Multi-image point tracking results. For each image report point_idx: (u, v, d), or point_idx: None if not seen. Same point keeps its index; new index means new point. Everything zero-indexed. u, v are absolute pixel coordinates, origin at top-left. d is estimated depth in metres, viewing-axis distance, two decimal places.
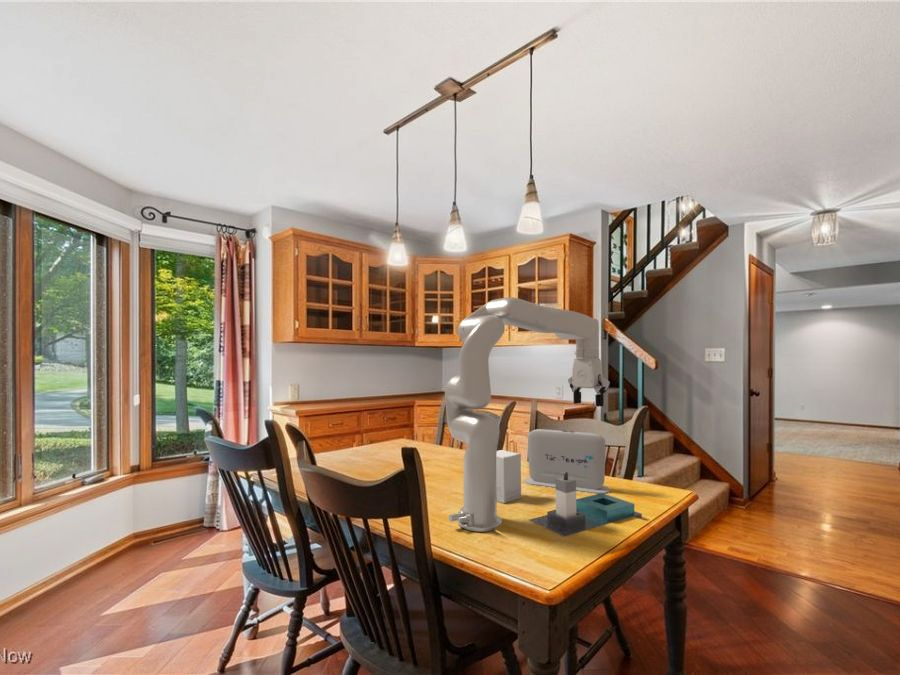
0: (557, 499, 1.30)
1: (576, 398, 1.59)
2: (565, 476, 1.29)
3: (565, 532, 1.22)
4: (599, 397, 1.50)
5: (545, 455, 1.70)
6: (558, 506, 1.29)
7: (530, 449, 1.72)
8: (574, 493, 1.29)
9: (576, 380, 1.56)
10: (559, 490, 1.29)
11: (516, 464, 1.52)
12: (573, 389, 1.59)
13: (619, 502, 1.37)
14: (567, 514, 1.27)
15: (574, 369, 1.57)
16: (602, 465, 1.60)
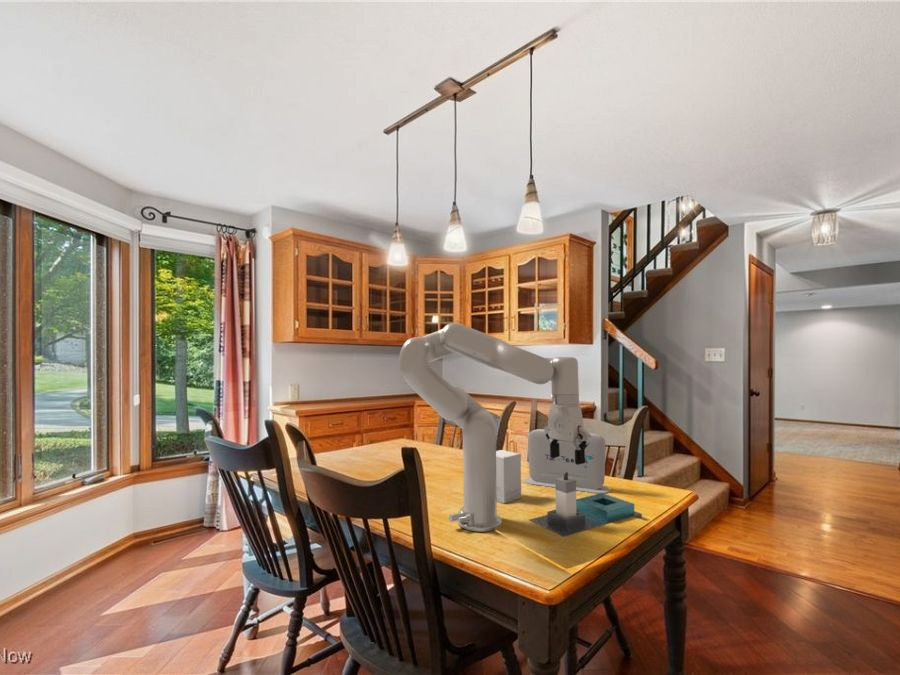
0: (557, 499, 1.30)
1: (553, 451, 1.33)
2: (565, 476, 1.29)
3: (565, 532, 1.22)
4: (579, 453, 1.25)
5: (545, 455, 1.70)
6: (558, 506, 1.29)
7: (530, 449, 1.72)
8: (574, 493, 1.29)
9: (552, 431, 1.31)
10: (559, 490, 1.29)
11: (516, 464, 1.52)
12: (550, 440, 1.34)
13: (619, 502, 1.37)
14: (567, 514, 1.27)
15: (550, 417, 1.32)
16: (602, 465, 1.60)
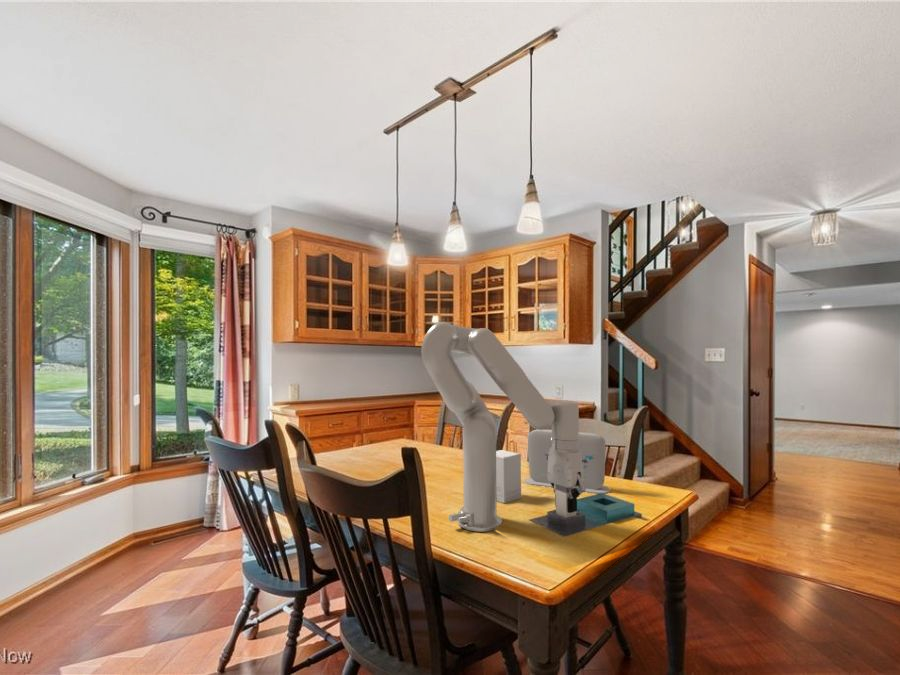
0: (557, 499, 1.30)
1: None
2: None
3: (565, 532, 1.22)
4: (571, 502, 1.27)
5: (545, 455, 1.70)
6: (558, 506, 1.29)
7: (530, 449, 1.72)
8: None
9: (552, 475, 1.31)
10: (559, 490, 1.29)
11: (516, 464, 1.52)
12: (555, 490, 1.31)
13: (619, 502, 1.37)
14: (567, 514, 1.27)
15: (550, 461, 1.32)
16: (602, 465, 1.60)
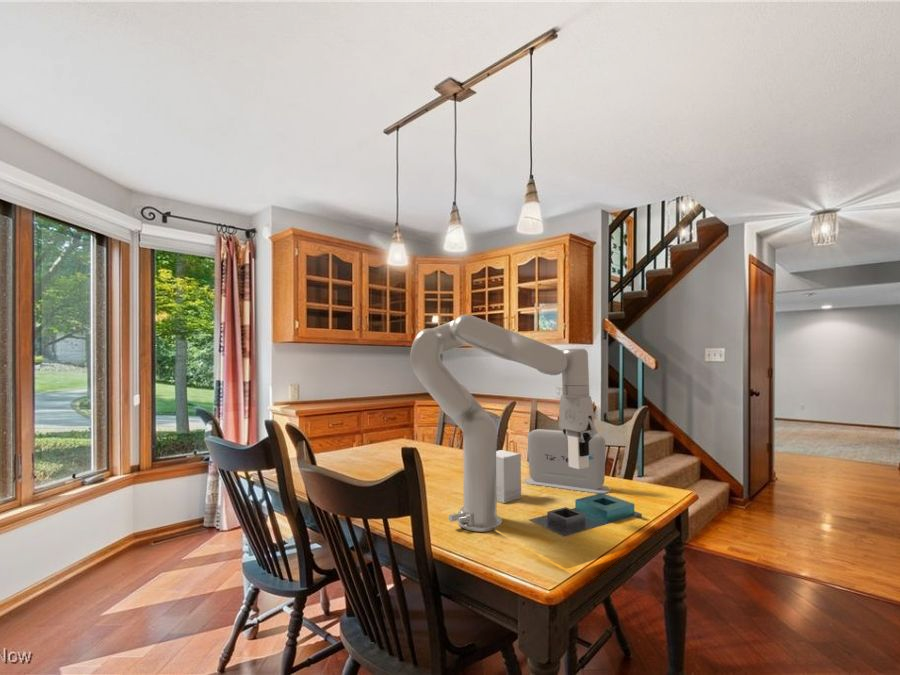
0: (569, 444, 1.32)
1: None
2: None
3: (565, 532, 1.22)
4: (583, 445, 1.29)
5: (545, 455, 1.70)
6: (570, 451, 1.32)
7: (530, 449, 1.72)
8: None
9: (563, 421, 1.33)
10: (571, 435, 1.32)
11: (516, 464, 1.52)
12: (567, 436, 1.34)
13: (619, 502, 1.37)
14: (579, 458, 1.30)
15: (561, 408, 1.34)
16: (602, 465, 1.60)
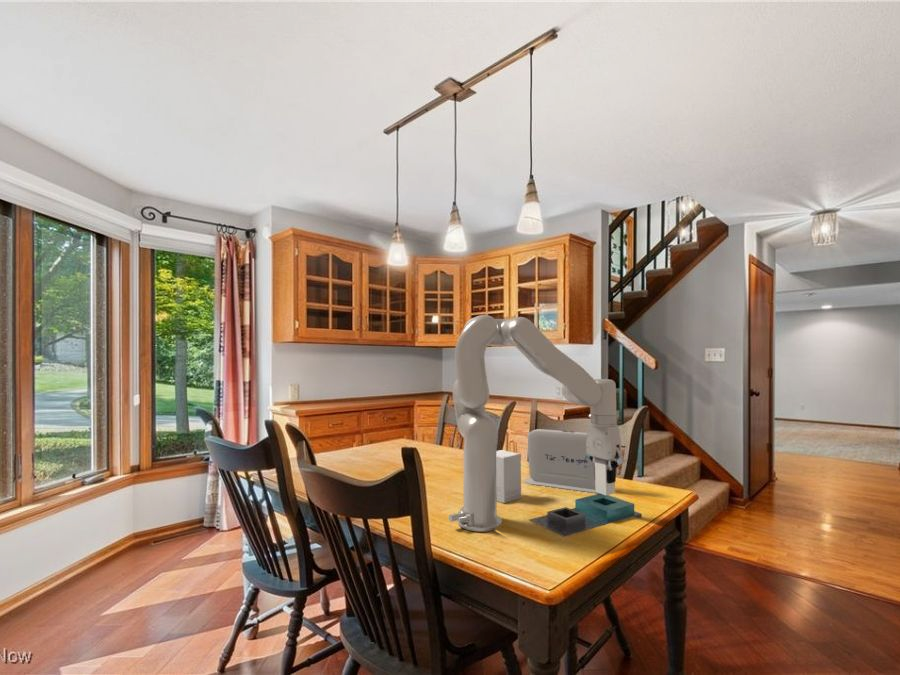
0: (596, 471, 1.38)
1: None
2: None
3: (565, 532, 1.22)
4: (611, 473, 1.35)
5: (545, 455, 1.70)
6: (597, 478, 1.38)
7: (530, 449, 1.72)
8: None
9: (591, 448, 1.39)
10: (598, 462, 1.38)
11: (516, 464, 1.52)
12: (594, 463, 1.40)
13: (619, 502, 1.37)
14: (607, 484, 1.35)
15: (588, 436, 1.40)
16: None
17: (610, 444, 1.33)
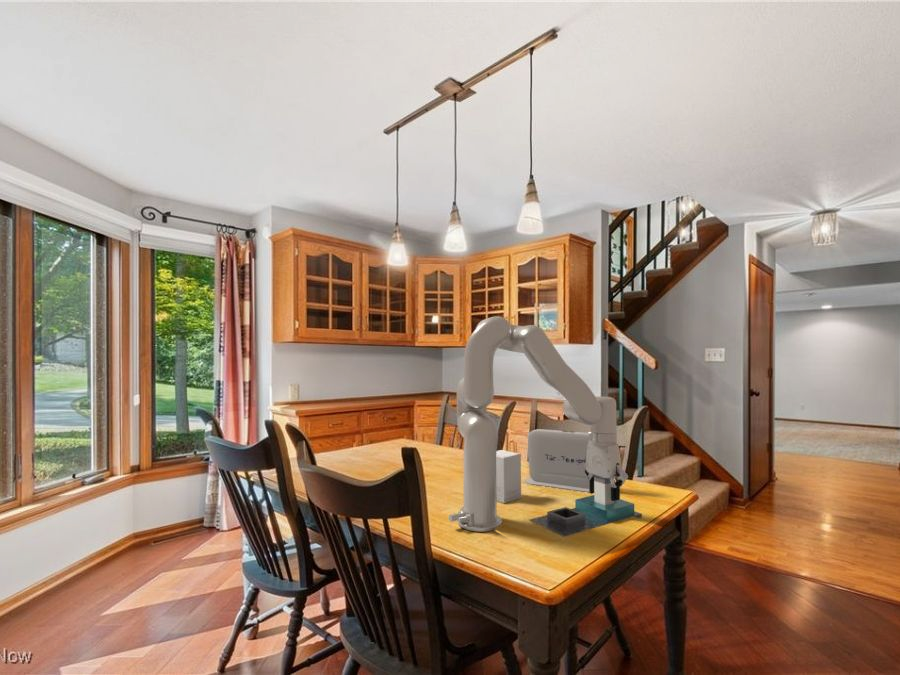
0: (596, 490, 1.38)
1: (592, 487, 1.41)
2: None
3: (565, 532, 1.22)
4: (615, 490, 1.33)
5: (545, 455, 1.70)
6: (596, 497, 1.38)
7: (530, 449, 1.72)
8: None
9: (591, 466, 1.39)
10: (598, 481, 1.37)
11: (516, 464, 1.52)
12: (589, 477, 1.41)
13: (619, 502, 1.37)
14: (606, 504, 1.35)
15: (588, 453, 1.40)
16: None
17: (610, 463, 1.33)
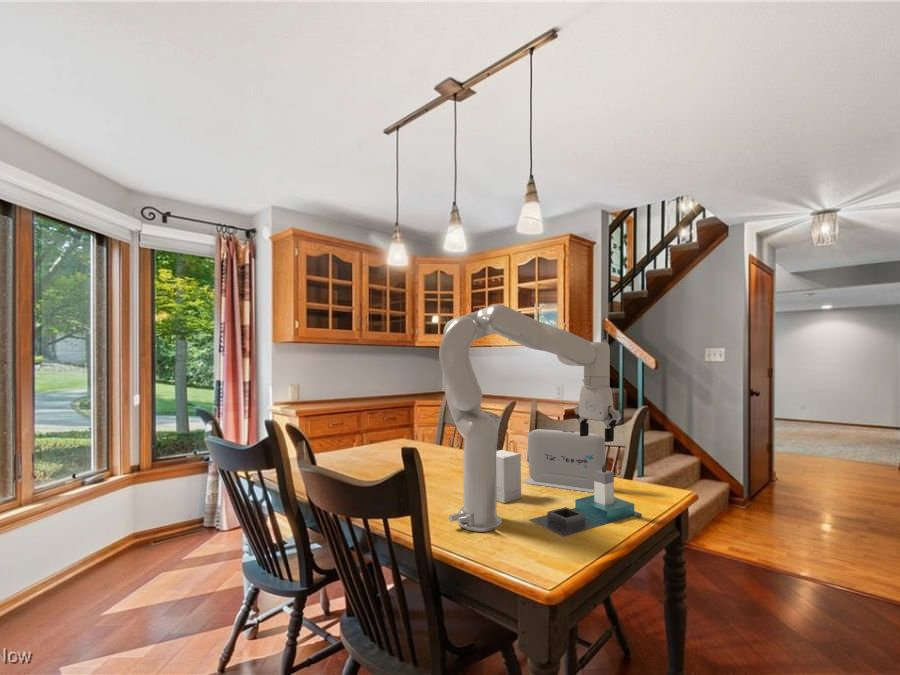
0: (596, 490, 1.38)
1: (583, 430, 1.42)
2: (603, 468, 1.38)
3: (565, 532, 1.22)
4: (609, 431, 1.34)
5: (545, 455, 1.70)
6: (596, 497, 1.38)
7: (530, 449, 1.72)
8: (612, 484, 1.37)
9: (583, 411, 1.40)
10: (598, 481, 1.37)
11: (516, 464, 1.52)
12: (580, 420, 1.43)
13: (619, 502, 1.37)
14: (606, 504, 1.35)
15: (581, 398, 1.41)
16: None
17: (602, 405, 1.34)
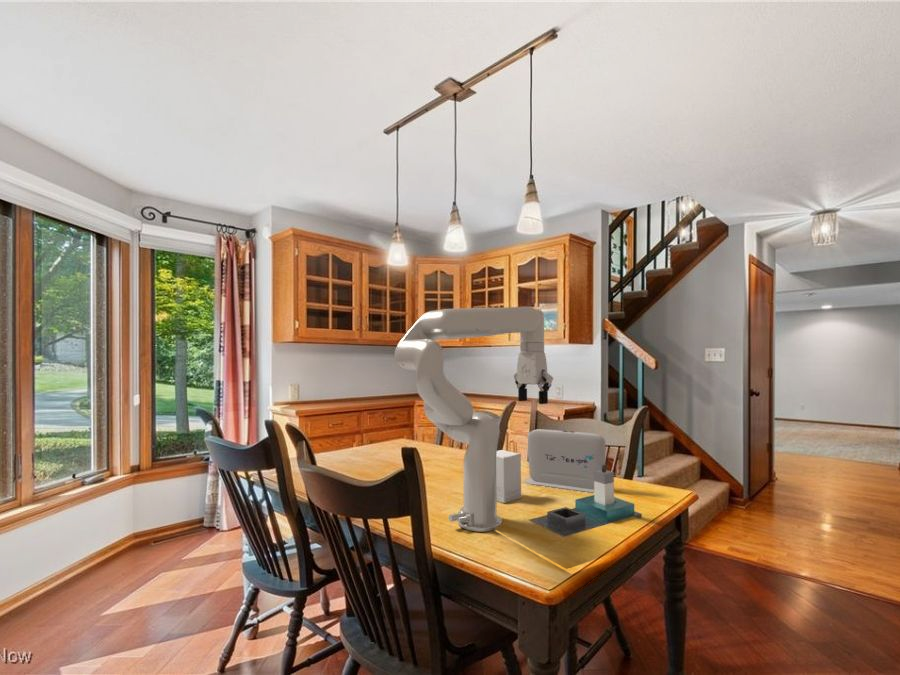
0: (596, 490, 1.38)
1: (521, 395, 1.48)
2: (603, 468, 1.38)
3: (565, 532, 1.22)
4: (542, 394, 1.40)
5: (545, 455, 1.70)
6: (596, 497, 1.38)
7: (530, 449, 1.72)
8: (612, 484, 1.37)
9: (520, 376, 1.46)
10: (598, 481, 1.37)
11: (516, 464, 1.52)
12: (518, 385, 1.49)
13: (619, 502, 1.37)
14: (606, 504, 1.35)
15: (518, 364, 1.47)
16: None
17: (535, 369, 1.40)
